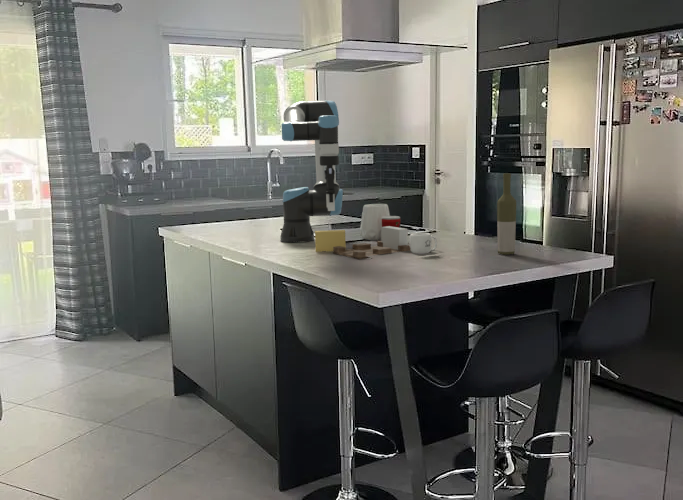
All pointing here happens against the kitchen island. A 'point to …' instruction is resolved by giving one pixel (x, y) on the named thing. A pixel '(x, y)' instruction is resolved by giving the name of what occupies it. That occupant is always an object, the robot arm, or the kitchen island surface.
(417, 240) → the mug
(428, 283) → the kitchen island surface
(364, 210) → the vase
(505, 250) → the bottle
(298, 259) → the kitchen island surface
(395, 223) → the canned food
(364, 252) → the comb rack
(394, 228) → the grey bar
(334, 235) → the ochre bar
